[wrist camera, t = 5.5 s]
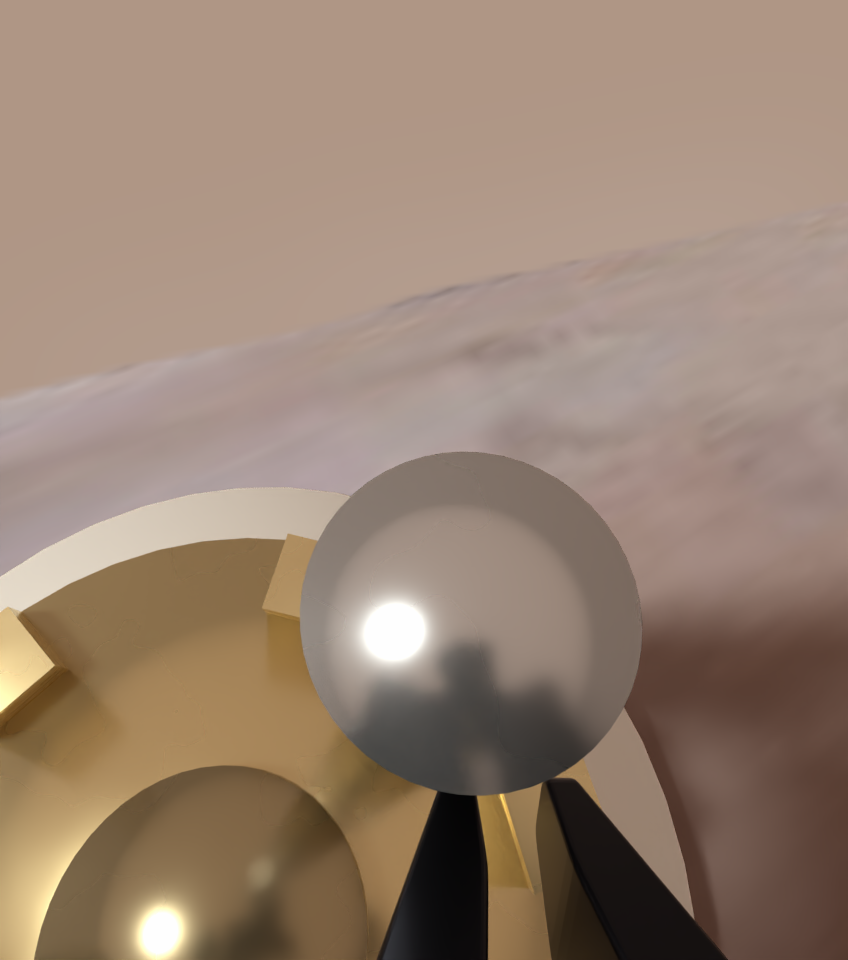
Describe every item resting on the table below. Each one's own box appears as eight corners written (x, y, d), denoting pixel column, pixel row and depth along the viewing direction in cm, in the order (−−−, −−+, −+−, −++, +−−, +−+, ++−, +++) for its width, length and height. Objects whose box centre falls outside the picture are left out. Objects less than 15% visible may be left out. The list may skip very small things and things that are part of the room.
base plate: (891, 1154, 12) (924, 1179, 12) (-224, 2191, 8) (-291, 2347, 7) (423, 393, 19) (424, 377, 19) (-315, 713, 15) (-353, 711, 14)
